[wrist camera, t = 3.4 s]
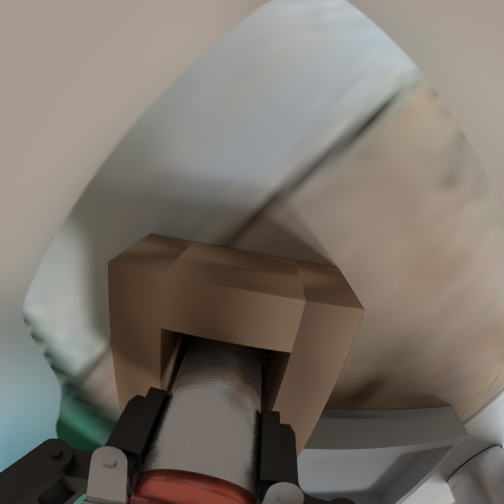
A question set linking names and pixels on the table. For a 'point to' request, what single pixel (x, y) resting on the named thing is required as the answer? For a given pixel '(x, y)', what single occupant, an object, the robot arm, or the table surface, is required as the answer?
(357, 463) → the tray
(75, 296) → the table surface
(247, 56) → the table surface
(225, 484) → the grey and red cylinder
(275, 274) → the socket block
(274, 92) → the table surface
